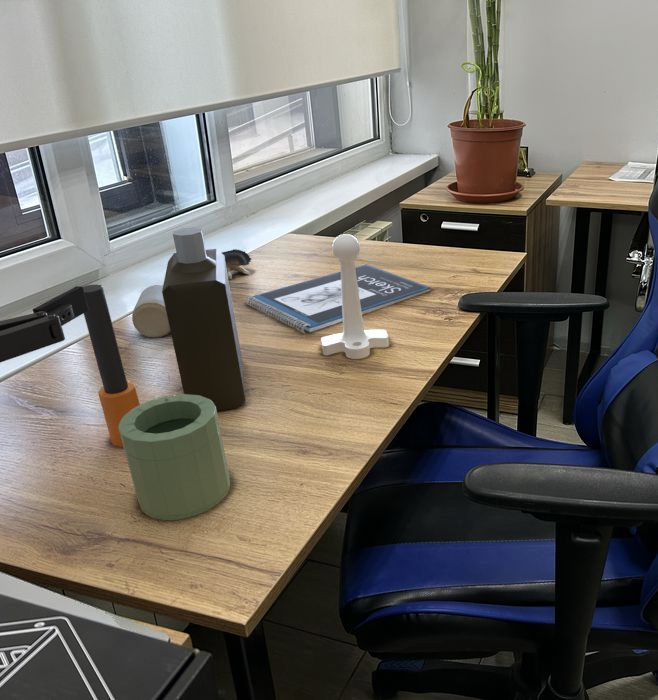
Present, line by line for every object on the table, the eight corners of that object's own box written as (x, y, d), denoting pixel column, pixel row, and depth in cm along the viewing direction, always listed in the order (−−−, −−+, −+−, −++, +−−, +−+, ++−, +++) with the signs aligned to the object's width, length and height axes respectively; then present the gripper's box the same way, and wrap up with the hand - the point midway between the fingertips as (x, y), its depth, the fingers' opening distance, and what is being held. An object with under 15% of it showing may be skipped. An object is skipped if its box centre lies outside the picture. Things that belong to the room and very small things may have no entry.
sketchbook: (431, 293, 144) (430, 284, 144) (305, 337, 125) (304, 327, 125) (366, 269, 158) (365, 260, 157) (244, 305, 139) (243, 295, 138)
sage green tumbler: (122, 518, 81) (98, 436, 76) (170, 466, 90) (152, 391, 85) (204, 527, 79) (185, 444, 75) (245, 474, 88) (231, 397, 84)
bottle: (243, 363, 116) (217, 214, 105) (246, 410, 102) (217, 244, 92) (191, 371, 114) (160, 219, 103) (188, 420, 100) (151, 251, 89)
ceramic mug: (134, 342, 124) (125, 301, 121) (144, 324, 132) (136, 285, 128) (197, 337, 126) (190, 297, 123) (203, 319, 134) (197, 281, 130)
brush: (105, 448, 94) (61, 293, 85) (125, 430, 98) (85, 281, 89) (135, 450, 93) (94, 295, 84) (154, 433, 97) (117, 282, 88)
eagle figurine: (214, 282, 148) (255, 268, 151) (200, 252, 148) (242, 237, 151) (215, 291, 155) (255, 276, 158) (202, 261, 155) (241, 248, 158)
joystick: (385, 338, 124) (377, 227, 116) (393, 356, 118) (385, 240, 109) (321, 346, 122) (308, 234, 113) (325, 365, 115) (312, 247, 106)
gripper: (-266, 416, 61) (-62, 321, 80) (-14, 439, 57) (138, 333, 76) (-308, 338, 58) (-85, 258, 77) (-45, 356, 54) (122, 266, 73)
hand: (26, 295), depth 77 cm, fingers open, 13 cm apart
